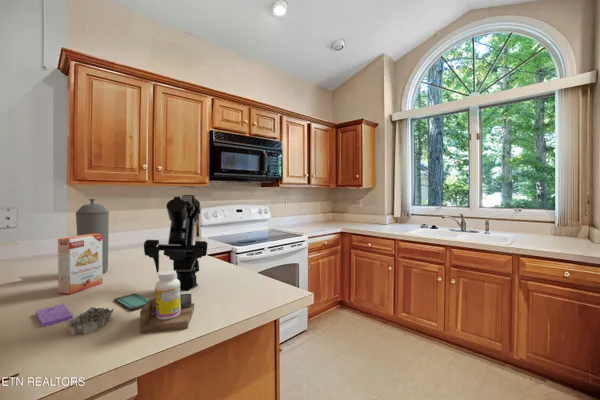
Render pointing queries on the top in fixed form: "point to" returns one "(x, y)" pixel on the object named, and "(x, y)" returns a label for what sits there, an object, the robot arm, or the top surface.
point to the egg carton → (97, 320)
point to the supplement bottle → (167, 295)
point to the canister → (94, 226)
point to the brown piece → (154, 324)
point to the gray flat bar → (185, 300)
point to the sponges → (53, 315)
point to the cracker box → (79, 262)
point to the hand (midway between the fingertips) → (174, 271)
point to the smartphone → (132, 302)
